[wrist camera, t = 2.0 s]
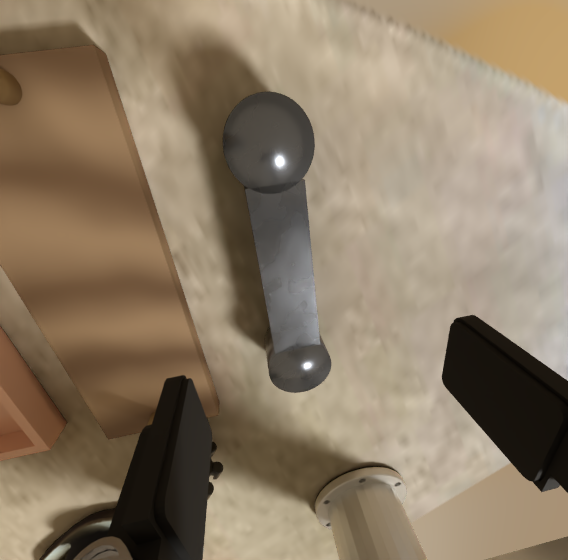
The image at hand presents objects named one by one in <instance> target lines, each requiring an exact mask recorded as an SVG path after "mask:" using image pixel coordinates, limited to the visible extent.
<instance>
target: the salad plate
mask: <svg viewBox="0 0 568 560" xmlns="http://www.w3.org/2000/svg"><path fill="white" fill-rule="evenodd" d="M114 512H115V509H110V510H104V511H100V512H97V513H94V514H92V515H90V516H88V517H86V518H85V519H83V520H82V521H80V522H79V523H77V524H75V525H74V526H73V527H72V528H70V529H69V530H68V531H67V532H66V533H64V534H63V535H62V536H61V537H60V538H59V539H57V540H56V541H55V542H54V543H53V544H52V545H51V546H50V547H49V548H48V550H47V551H46V552H45V553H44V555H43V556H42V557H41V558H40V560H73V559H74V558H75V557H76V556H77V555H78V554H79V553H80V552H81V551H82V550H83V549H85V548H86V547H87V546H88V545H90V544H91V543H93V542H95V541H97V540H99V539H101V538H104V537H107V534H108V531H109V528H110V524H111V521H112V518H113V515H114ZM203 551H204V547H203Z"/></svg>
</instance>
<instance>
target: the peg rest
mask: <svg viewBox="0 0 568 560" xmlns="http://www.w3.org/2000/svg"><path fill="white" fill-rule="evenodd" d="M0 265H1V267H2V268H3V270H4V272H5V273H6V275H7V276H8V278H9V280H10V281H11V283H12V285H13V286H14V288H15V289H16V291H17V293H18V294H19V296H20V297H21V299H22V301H23V302H24V304H25V306H26V307H27V309H28V310H29V312H30V314H31V315H32V317H33V318H34V320H35V322H36V323H37V325H38V327H39V328H40V330H41V331H42V333H43V335H44V336H45V338H46V339H47V341H48V343H49V344H50V346H51V348H52V349H53V351H54V352H55V354H56V356H57V357H58V359H59V361H60V362H61V364H62V365H63V367H64V369H65V370H66V372H67V373H68V375H69V377H70V378H71V380H72V382H73V383H74V385H75V386H76V388H77V390H78V391H79V393H80V394H81V396H82V398H83V399H84V401H85V403H86V404H87V406H88V407H89V409H90V411H91V412H92V414H93V415H94V417H95V419H96V420H97V422H98V424H99V425H100V427H101V428H102V430H103V432H104V433H105V435H106V437H107V438H108V439H112V438H117V437H121V436H126V435H131V434H135V433H140V432H142V430H143V428H144V427H145V426H147V425H151V424H152V422H153V419H154V415H155V412H156V409H157V405H158V402H159V399H160V395H161V392H162V389H163V386H164V382H165V380H166V379H167V378H171V377H176V376H181V375H185V376H186V378H187V379H188V378H191V379H192V380H193V383H194V386H195V388H196V391H197V393H198V396H199V399H200V401H201V404H202V407H203V409H204V412H205V415H206V417H207V418H208V417H213V416H217V415H218V414H219V400H218V397H217V394H216V390H215V387H214V384H213V381H212V378H211V375H210V372H209V369H208V366H207V363H206V360H205V357H204V354H203V351H202V348H201V344H200V341H199V338H198V335H197V332H196V329H195V326H194V323H193V320H192V317H191V314H190V311H189V308H188V305H187V302H186V298H185V295H184V292H183V289H182V286H181V283H180V280H179V277H178V274H177V271H176V268H175V265H174V262H173V259H172V256H171V252H170V249H169V246H168V243H167V240H166V237H165V234H164V231H163V228H162V225H161V222H160V219H159V216H158V213H157V209H156V206H155V203H154V200H153V197H152V194H151V191H150V188H149V185H148V182H147V179H146V176H145V173H144V170H143V167H142V163H141V160H140V157H139V154H138V151H137V148H136V145H135V142H134V139H133V136H132V133H131V130H130V127H129V124H128V121H127V117H126V114H125V111H124V108H123V105H122V102H121V99H120V96H119V93H118V90H117V87H116V84H115V81H114V78H113V75H112V71H111V68H110V65H109V62H108V59H107V56H106V54H105V53H104V52H102V51H101V50H100V49H98V48H97V47H96V46H94V45H87V46H78V47H69V48H60V49H51V50H42V51H33V52H24V53H15V54H6V55H0Z"/></svg>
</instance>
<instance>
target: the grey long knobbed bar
mask: <svg viewBox="0 0 568 560" xmlns="http://www.w3.org/2000/svg"><path fill="white" fill-rule="evenodd" d="M314 147H315V144H314V133H313V129H312V126H311V123H310V121H309V119H308V117H307V115H306V113H305V112H304V111H303V109H302V108H301V107H300V106H299V105H298V104H297V103H296V102H295V101H293V100H292V99H290V98H289V97H287V96H285V95H282V94H279V93H276V92H260V93H256V94H253V95H250V96H248V97H247V98H245V99H243V100H242V101H241V102H240V103H239V104H238V105H237V106H236V107H235V108H234V109H233V111H232V112H231V113H230V115H229V117H228V119H227V122H226V125H225V128H224V133H223V150H224V155H225V159H226V162H227V164H228V166H229V168H230V170H231V172H232V173H233V175H234V176H235V177H236V178H237V179H238V180H239V181H240V182H241V183H242V184H243V185H244V187H245V193H246V198H247V203H248V209H249V214H250V220H251V225H252V231H253V236H254V241H255V247H256V252H257V258H258V263H259V269H260V274H261V279H262V285H263V290H264V296H265V301H266V306H267V312H268V317H269V323H270V327H269V329H268V330H267V332H266V335H265V347H266V354H267V362H268V369H269V376H270V379H271V381H272V382H273V384H274V385H275V386H276V387H278V388H279V389H281V390H284V391H287V392H294V393H297V392H304V391H308V390H311V389H313V388H315V387H316V386H318V385H319V384H321V383H322V382H323V381H324V380H325V379H326V377H327V376H328V374H329V372H330V369H331V359H330V356H329V354H328V351H327V349H326V347H325V345H324V343H323V340H322V338H321V336H320V334H319V326H318V316H317V305H316V294H315V284H314V273H313V262H312V252H311V241H310V231H309V220H308V209H307V199H306V188H305V180H304V179H302V178H303V177H304V176H305V174H306V173H307V171H308V169H309V167H310V165H311V162H312V159H313V155H314Z"/></svg>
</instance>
